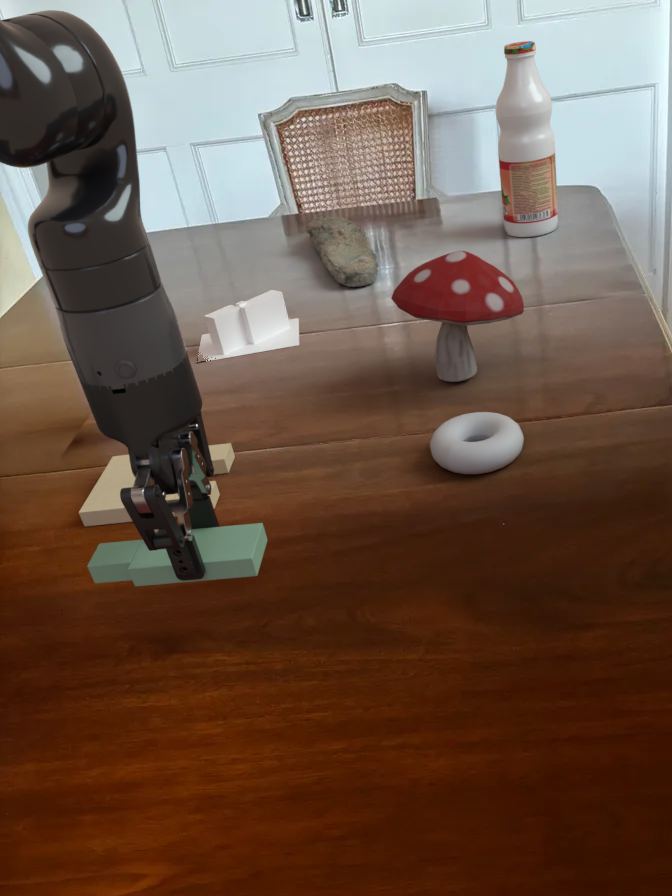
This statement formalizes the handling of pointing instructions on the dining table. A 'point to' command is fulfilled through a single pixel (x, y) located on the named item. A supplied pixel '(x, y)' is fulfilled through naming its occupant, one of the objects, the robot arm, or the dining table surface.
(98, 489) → the sand pad
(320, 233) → the elongated rock
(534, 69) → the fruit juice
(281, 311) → the napkin holder
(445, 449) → the donut
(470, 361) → the decorative mushroom
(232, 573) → the green tabbed block
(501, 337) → the dining table surface
